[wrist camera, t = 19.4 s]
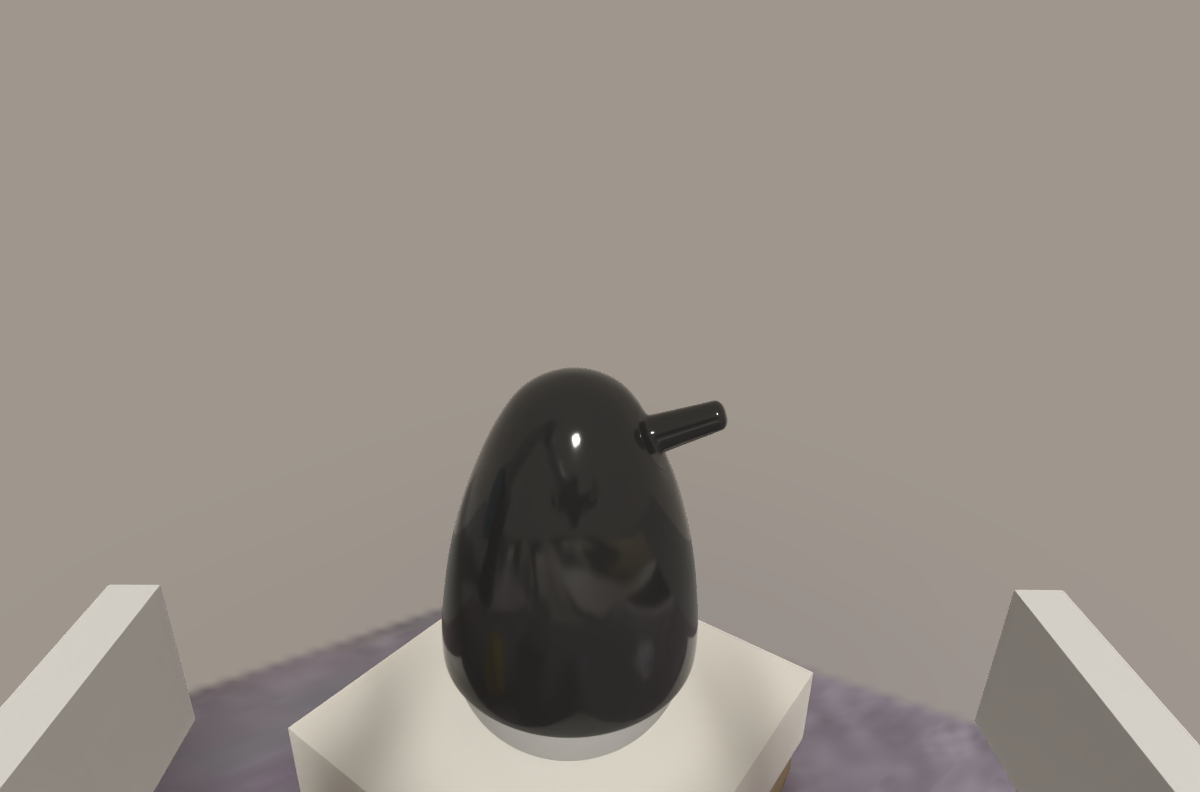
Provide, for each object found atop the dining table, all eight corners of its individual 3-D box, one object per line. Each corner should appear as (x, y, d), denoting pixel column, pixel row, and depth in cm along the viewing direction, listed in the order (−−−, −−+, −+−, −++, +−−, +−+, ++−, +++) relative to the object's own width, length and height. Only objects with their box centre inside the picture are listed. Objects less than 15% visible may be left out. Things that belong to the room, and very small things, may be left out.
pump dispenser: (700, 820, 28) (748, 455, 22) (418, 797, 28) (382, 434, 22) (688, 626, 37) (720, 330, 31) (475, 611, 38) (462, 316, 31)
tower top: (301, 797, 33) (288, 728, 31) (542, 604, 45) (541, 547, 43) (603, 1063, 24) (605, 986, 23) (802, 738, 36) (813, 672, 35)
